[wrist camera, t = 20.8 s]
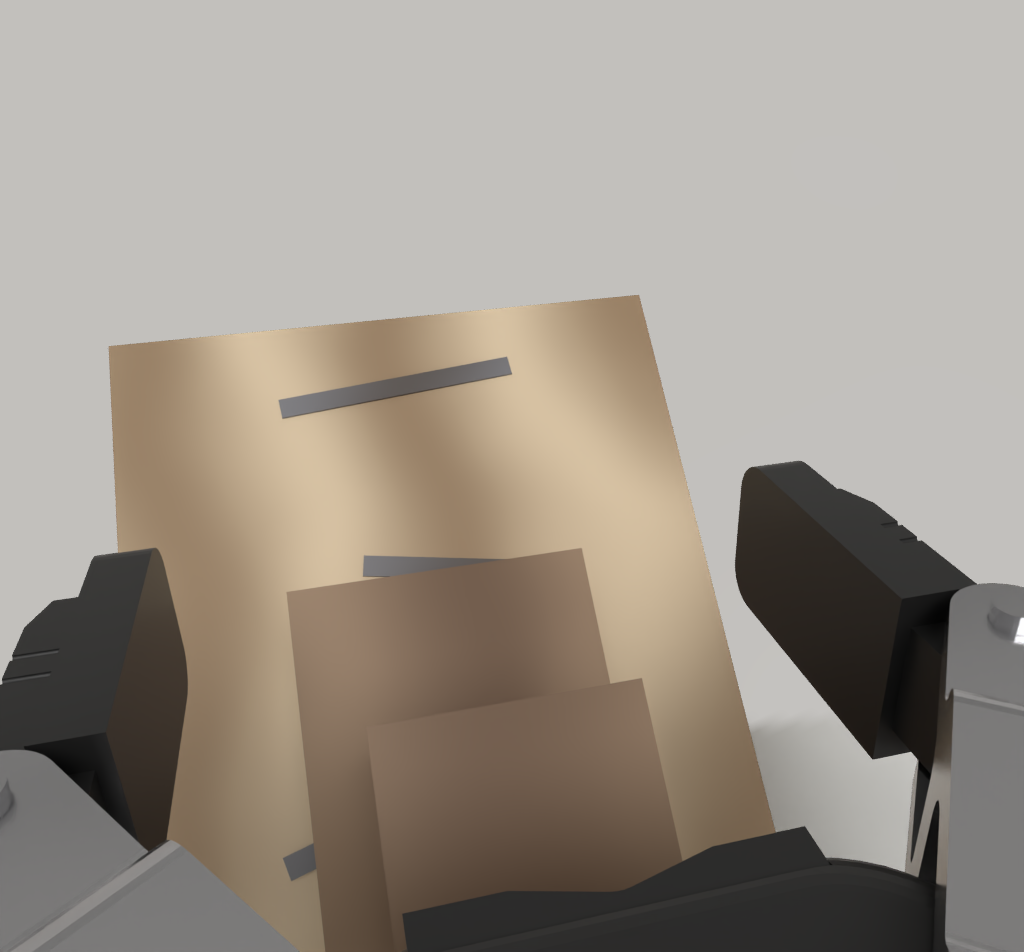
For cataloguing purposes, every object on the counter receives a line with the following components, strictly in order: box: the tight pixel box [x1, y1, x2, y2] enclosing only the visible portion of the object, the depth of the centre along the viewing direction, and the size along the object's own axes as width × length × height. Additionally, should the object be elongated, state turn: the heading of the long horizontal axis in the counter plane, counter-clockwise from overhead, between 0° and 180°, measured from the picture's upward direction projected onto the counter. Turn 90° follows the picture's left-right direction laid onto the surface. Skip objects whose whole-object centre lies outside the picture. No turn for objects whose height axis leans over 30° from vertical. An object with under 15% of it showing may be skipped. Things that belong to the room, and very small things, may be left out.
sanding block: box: [286, 548, 682, 952], centre depth 15 cm, size 6×10×10 cm, turn 11°
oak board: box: [109, 295, 776, 952], centre depth 22 cm, size 14×20×2 cm
